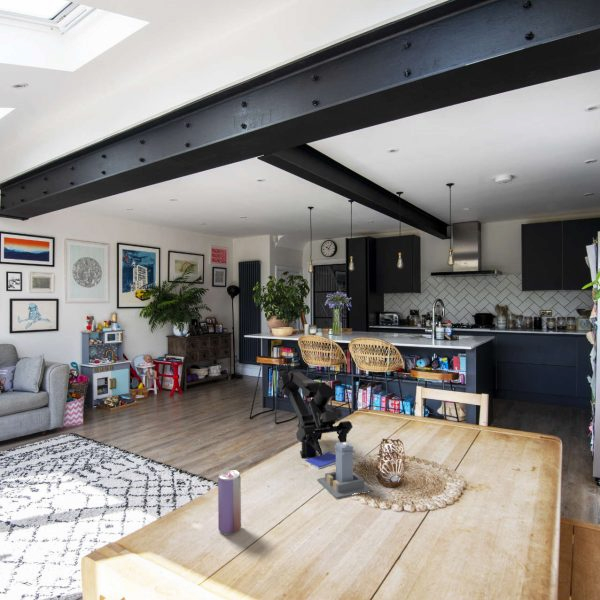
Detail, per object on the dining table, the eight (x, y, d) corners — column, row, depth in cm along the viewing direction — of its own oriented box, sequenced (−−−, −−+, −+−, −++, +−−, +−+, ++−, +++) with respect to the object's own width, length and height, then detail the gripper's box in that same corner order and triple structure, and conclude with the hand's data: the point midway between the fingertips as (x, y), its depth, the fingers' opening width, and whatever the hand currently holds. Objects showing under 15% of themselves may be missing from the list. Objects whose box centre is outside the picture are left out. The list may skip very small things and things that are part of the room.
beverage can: (222, 538, 112) (221, 481, 112) (215, 527, 118) (215, 472, 117) (244, 532, 115) (243, 476, 115) (236, 521, 121) (236, 468, 120)
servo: (334, 481, 145) (334, 439, 144) (345, 479, 146) (344, 438, 146) (343, 489, 138) (343, 446, 138) (354, 487, 140) (354, 444, 140)
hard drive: (328, 451, 170) (304, 459, 162) (343, 457, 164) (318, 466, 156) (328, 455, 170) (304, 463, 162) (343, 461, 164) (318, 470, 156)
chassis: (317, 480, 146) (317, 471, 146) (351, 474, 151) (351, 465, 151) (336, 499, 133) (336, 489, 133) (372, 491, 138) (372, 482, 138)
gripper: (303, 403, 150) (316, 446, 140) (350, 398, 157) (366, 438, 147) (294, 419, 157) (306, 461, 148) (339, 414, 165) (354, 453, 155)
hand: (333, 453), depth 149 cm, fingers open, 9 cm apart
